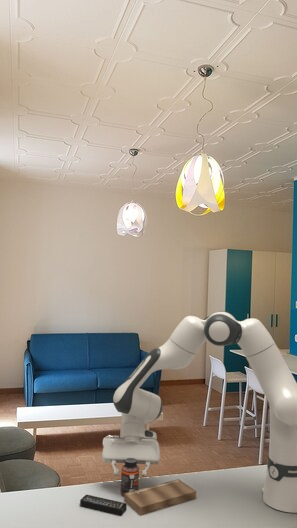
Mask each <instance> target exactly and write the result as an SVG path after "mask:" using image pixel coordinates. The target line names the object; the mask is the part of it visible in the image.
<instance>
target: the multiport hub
mask: <svg viewBox="0 0 297 528" xmlns="http://www.w3.org/2000/svg"><path fill="white" fill-rule="evenodd" d="M127 505H128V504H127V503H126V502H122V501H117V500H114V499H108V498H104V497H99V496H96V495H91V494H84V496H83V497H82V498H81V499H80V500H79V507H81V508H85V509H89V510H93V511H97V512H102V513H106V514H110V515H114V516H119V517H122V516H123V515H124V514H125V513H126V511H127V509H128V508H127Z"/></svg>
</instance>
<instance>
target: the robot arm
mask: <svg viewBox="0 0 297 528" xmlns="http://www.w3.org/2000/svg"><path fill="white" fill-rule="evenodd" d="M205 342H209V343H211V344H212V345H214V346H219V347H224V346H230V345H238V346H239V348H240V349H241V351H242V353H243V354H244V356H245V358H246V360H247V362H248V364H249V366H250V368H251V370H252V372H253V373H254V375H255V377H256V379H257V381H258V383H259V385H260V388H261V390H262V391H263V393H264V395H265V397H266V400H267V401H268V404H269V441H268V442H269V445H268V446H269V449H268V456H267V460H266V463H267V465H266V466H267V469H266V471H265V478H264V486H263V487H262V489H261V492H262V500H263V502H264V503H265V505H267V506H268V507H271V508H272V509H274V510H278V511H281V512H285V513H292V514H293V513H294V514H297V380H296V379H295V377H294V376H293V374H292V372H291V370H290V368H289V366H288V365H287V362H286V361H285V359H284V357H283V355H282V353H281V352H280V349H279V347H278V346H277V344H276V342H275V341H274V339H273V337H272V335H271V334H270V332H269V331H268V330H267V328H266V327H265V326H264V324H263V323H262V322H261V320H259V319H258V318H254V317H253V318H246V319H244V320H241V321H240V320H237V319H236V317H235V316H234V315H233V313H230V312H228V311H226V310H219V311H216V312H214V313H212V314H210V315H208V316H206V317H205V318H204V319H202V318H200V317H197V316H194V315H187V316H185V317H184V318H183V319H182V320H181V321H180V322H179V324H178V325H177V326H176V327H175V328H174V331H172V333H171V334H170V336H169V338H168V339H167V340H166V342H164V344H162V345H161V346H159V347H156V348H153V349H152V350H150V351H149V352H148V353H147V355H146V356H145V357H144V358H143V359H142V360H141V362H140V363H139V364H138V365H137V366H136V367H135V369H134V370H133V371H132V372H131V374H130V375H128V377H127V378H126V379H125V380H124V381H123V382H121V384H120V385H119V386H118V387H117V388H116V389H115V391H114V394H113V396H112V404H113V405H114V408H115V409H116V411H117V413H121V420H122V421H121V425H120V430H119V431H120V433H119V435H110V434H108V435H107V436H105V437H103V439H102V447H103V449H102V452H101V461H103V463H107V464H111V467H112V469H113V476H114V477H118V476H119V468H117V467H116V466H117V465H116V464H125V459H127V458H135V459H136V460H137V465H145V469H142V470H141V477H143V478H146V477H147V472H148V470H149V469H150V467H151V465H153V466H155V465H156V466H157V465H159V464H160V462H161V448H160V444H159V442H158V440H157V439H158V437H157V433H156V432H155V431H152V430H149V429H146V427H145V425H146V424H149V423H152V422H154V421H156V420H157V419H159V418H160V417H161V415H162V413H163V401H162V398H161V397H160V396H159V395H158V394H156V393H153V392H151V391H147V390H145V389H143V388H140V387H142V385H143V384H144V383H145V382H146V380H147V379H148V378H149V376H150V375H151V374H153V373H154V372H156V371H161V370H180V369H181V370H182V369H185V368H186V367H188V366H189V365H190V364H191V363H192V362H193V361H194V359H195V356H196V355H197V353H199V350H200V349H201V348H202V346H203V345H204V343H205Z"/></svg>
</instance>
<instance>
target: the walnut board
mask: <svg viewBox="0 0 297 528" xmlns="http://www.w3.org/2000/svg"><path fill="white" fill-rule="evenodd" d="M123 497H124V498H123V499H124V500H123V502H124V503H126V504H127V505H128V506H129V507H130V508H131V509H133V510H134V512H135V513H136V514H138V515H139V516H143V515H147V514H150V513H154V512H157V511H160V510H163V509H167V508H170V507H173V506H176V505H177V506H178V505H179V504H183V503H186V502H190V501H192V500H196V499H197V490H196V489H194V488H193V487H191V486H190V485H188V484H187V483H185V482H183V481H182V480H180V479H177V478H176V479H173V480H170V481H167V482H162V483H159V484H155V485H151V486H147V487H144V488H140V489H139V488H138V490H134V491H132V492H128V493H125V495H124V496H123Z"/></svg>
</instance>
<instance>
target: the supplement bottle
mask: <svg viewBox="0 0 297 528" xmlns="http://www.w3.org/2000/svg"><path fill="white" fill-rule="evenodd" d="M139 479H140V467H139V465H138V464H137V460H136V459H135V458H127V459H125V463H124V465H122V467H121V479H120V494H121V495H122V496H123V497H124V495H125V493H128V492H132V491H134V490H139V485H140V484H139V482H140V481H139Z"/></svg>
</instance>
